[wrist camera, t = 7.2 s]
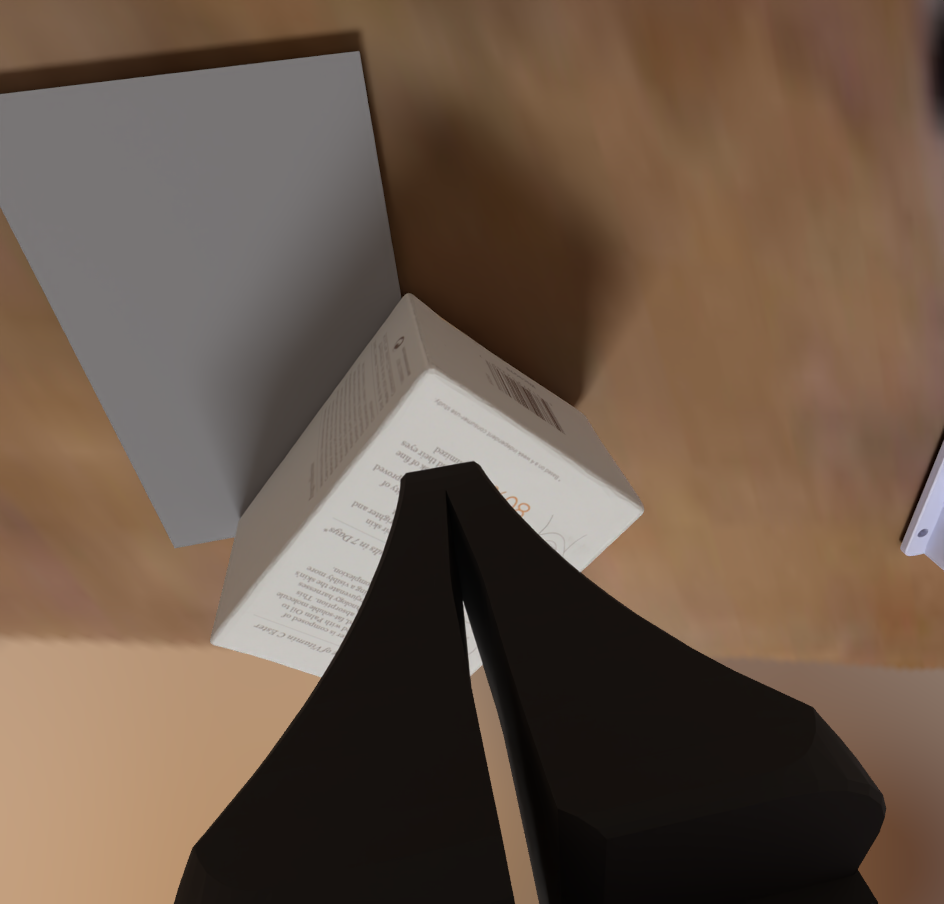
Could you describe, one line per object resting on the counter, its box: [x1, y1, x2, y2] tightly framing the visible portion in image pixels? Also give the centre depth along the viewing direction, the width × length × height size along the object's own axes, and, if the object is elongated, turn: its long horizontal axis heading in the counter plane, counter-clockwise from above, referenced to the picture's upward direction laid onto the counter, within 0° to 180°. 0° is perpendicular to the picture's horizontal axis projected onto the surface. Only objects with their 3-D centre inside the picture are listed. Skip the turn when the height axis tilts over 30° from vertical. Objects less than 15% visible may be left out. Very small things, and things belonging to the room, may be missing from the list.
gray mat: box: [0, 51, 401, 548], centre depth 18 cm, size 14×10×1 cm
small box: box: [210, 293, 644, 677], centre depth 19 cm, size 8×6×10 cm
